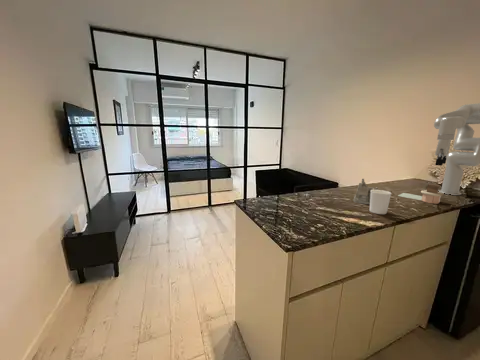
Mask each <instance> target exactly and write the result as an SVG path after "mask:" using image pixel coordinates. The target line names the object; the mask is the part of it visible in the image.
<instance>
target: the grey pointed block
mask: <svg viewBox="0 0 480 360" xmlns="http://www.w3.org/2000/svg"><path fill="white" fill-rule="evenodd" d="M378 188H379V187H377V186H376V187H375V188H374V187H370V186H368V185H367V183H366V182H365V178H362V179H361V182H359V183H358V186H357V190H356V193H355V195H354V197H353V199H352V201H353V202H354V203H357V204H362V205H370V194H371V190H379V189H378Z"/></svg>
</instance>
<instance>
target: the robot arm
mask: <svg viewBox="0 0 480 360" xmlns="http://www.w3.org/2000/svg"><path fill="white" fill-rule="evenodd" d="M471 125H480V102H479V103H469V104H468V103H467V104H464V105H461V106H460V107H458V108H457V109H456V110H453V111H450V112H446V113H443V114H441V115H439V116H438V117H437V118H436V119H435V120H434V122H433V127H434V128H435V129H436V130H438V133H437V139H436V140H437V144H436V145H437V146H436V150H435V154H434V155H435V156H437V157H436V158H435V163H434V165H435V166H439V167H440V166H441V167H442V166H443V164H445V165H446V166H445V171H444V175H443V181H442V184H441V188H440V189H439V190H438V191H439V192H441V193H445V194H444V195H449V194H451V195H452V196H462V194H463V193H462V192H460V188H461V184H462V179H463V175H464V169H463V167H462V166H468V167H469V166H471V167H477V166H479V165H480V137H474V135H475V129H474V128H473V127H472V126H471ZM456 131H457V132H456ZM452 141H454V142H453V146H452V147H453V149H454V150H455V151H450V147H451V143H452Z"/></svg>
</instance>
